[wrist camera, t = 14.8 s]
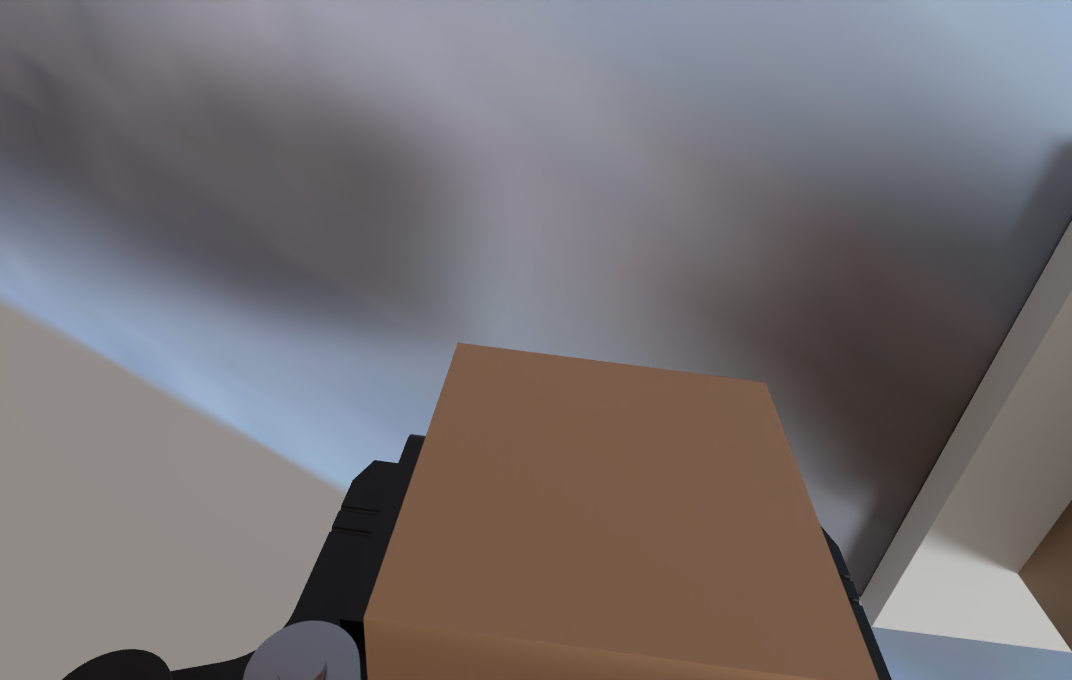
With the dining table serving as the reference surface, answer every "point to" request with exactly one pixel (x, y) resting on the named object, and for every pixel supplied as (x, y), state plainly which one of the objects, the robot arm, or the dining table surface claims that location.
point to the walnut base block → (1053, 575)
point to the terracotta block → (607, 534)
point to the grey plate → (992, 490)
